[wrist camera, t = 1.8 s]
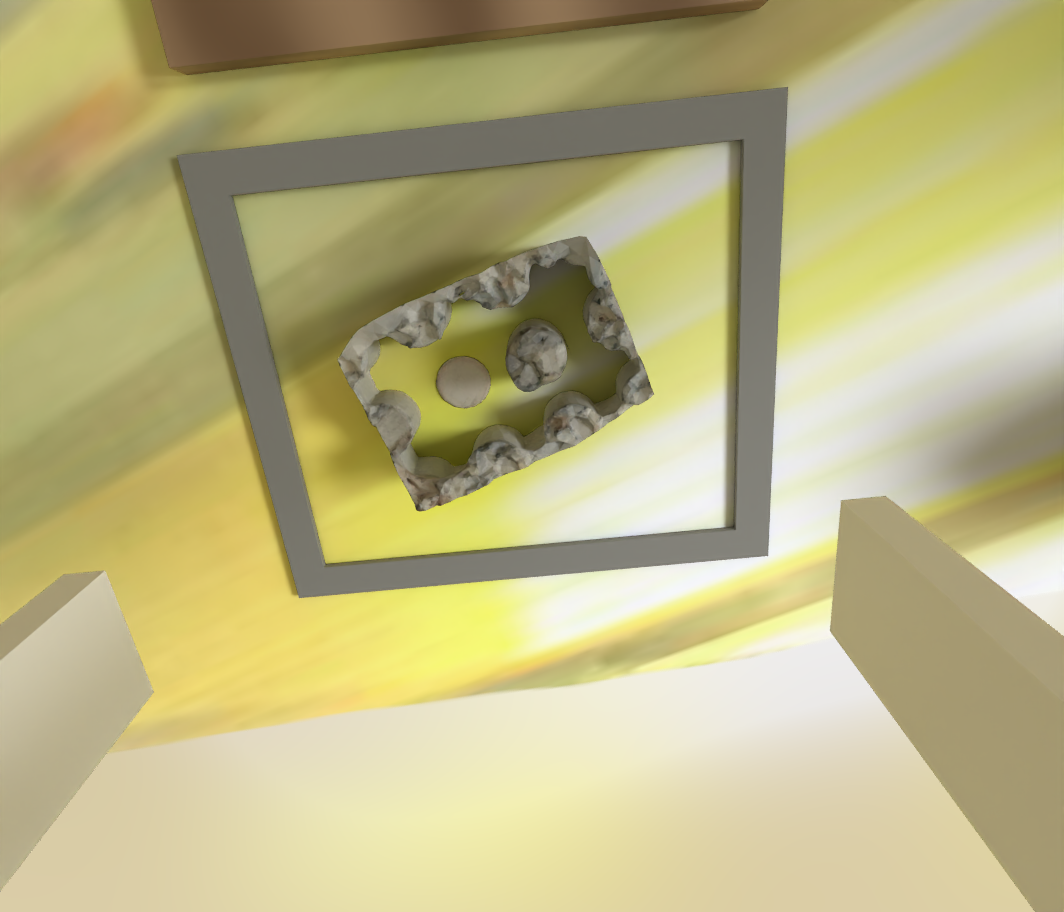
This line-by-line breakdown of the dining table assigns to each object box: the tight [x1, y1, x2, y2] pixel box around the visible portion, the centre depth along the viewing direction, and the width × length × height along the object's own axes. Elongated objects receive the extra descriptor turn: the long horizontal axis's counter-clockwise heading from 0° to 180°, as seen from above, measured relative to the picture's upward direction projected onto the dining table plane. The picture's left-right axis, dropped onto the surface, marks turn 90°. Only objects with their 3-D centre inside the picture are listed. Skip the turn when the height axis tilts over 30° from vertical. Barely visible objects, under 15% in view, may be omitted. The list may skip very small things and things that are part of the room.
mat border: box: [177, 87, 788, 598], centre depth 26 cm, size 22×19×1 cm
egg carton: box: [337, 236, 654, 511], centre depth 24 cm, size 11×8×4 cm
